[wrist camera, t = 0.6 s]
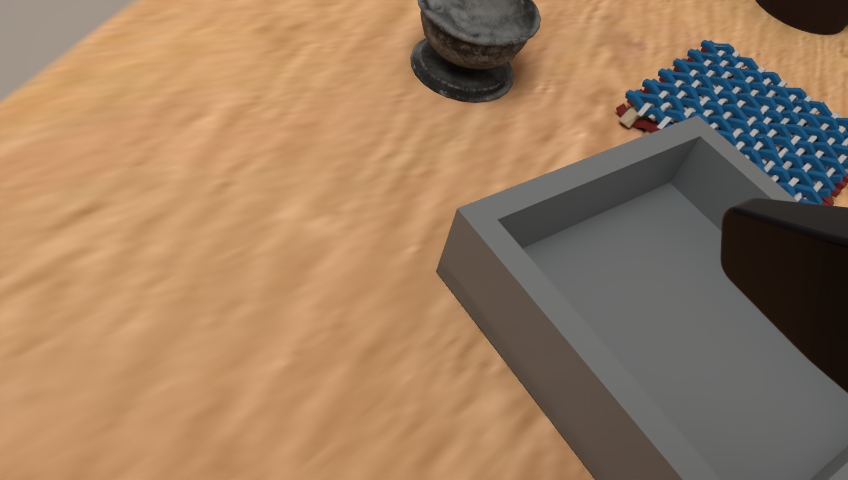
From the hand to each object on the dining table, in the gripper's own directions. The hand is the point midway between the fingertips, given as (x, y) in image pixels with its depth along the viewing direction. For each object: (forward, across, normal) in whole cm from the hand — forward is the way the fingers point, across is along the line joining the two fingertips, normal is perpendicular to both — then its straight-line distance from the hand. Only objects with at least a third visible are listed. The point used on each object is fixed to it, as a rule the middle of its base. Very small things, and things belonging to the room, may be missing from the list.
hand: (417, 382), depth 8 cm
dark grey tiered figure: (+26, -12, +7) cm, 29 cm away
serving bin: (+10, -12, +14) cm, 21 cm away
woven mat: (+19, -24, +13) cm, 33 cm away
